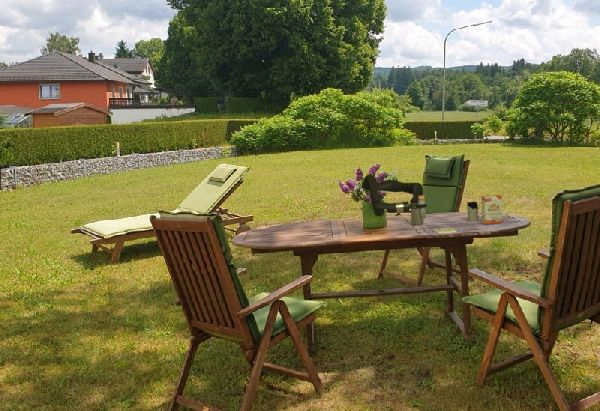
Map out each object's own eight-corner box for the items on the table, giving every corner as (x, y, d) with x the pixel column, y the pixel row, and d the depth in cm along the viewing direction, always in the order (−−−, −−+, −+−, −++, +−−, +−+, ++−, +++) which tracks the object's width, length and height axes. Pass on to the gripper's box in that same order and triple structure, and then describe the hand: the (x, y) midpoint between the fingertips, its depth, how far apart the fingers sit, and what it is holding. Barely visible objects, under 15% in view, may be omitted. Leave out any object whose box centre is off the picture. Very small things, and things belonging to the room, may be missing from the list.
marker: (418, 217, 425) (417, 195, 424) (425, 217, 425) (423, 195, 424) (420, 218, 421) (418, 196, 419) (426, 218, 421) (425, 195, 419)
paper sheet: (432, 230, 432) (432, 228, 432) (450, 229, 432) (450, 227, 432) (438, 233, 416) (437, 232, 416) (456, 232, 416) (456, 230, 416)
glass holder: (465, 221, 463) (464, 202, 462) (481, 219, 467) (480, 200, 465) (471, 222, 455) (470, 203, 453) (487, 220, 458) (486, 201, 457)
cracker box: (485, 224, 440) (484, 196, 438) (481, 223, 446) (480, 196, 444) (503, 222, 442) (501, 195, 440) (498, 222, 448) (497, 194, 446)
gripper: (400, 211, 430) (424, 209, 430) (404, 213, 416) (428, 211, 415) (399, 201, 429) (423, 199, 429) (403, 203, 415) (427, 200, 415)
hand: (425, 205), depth 422 cm, fingers closed on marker, 4 cm apart
